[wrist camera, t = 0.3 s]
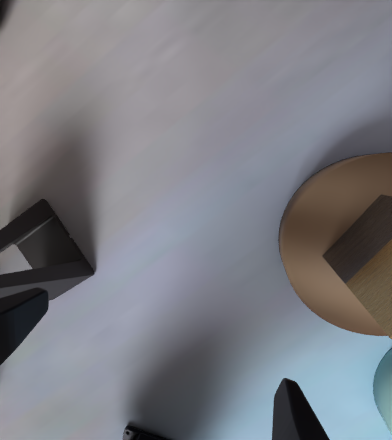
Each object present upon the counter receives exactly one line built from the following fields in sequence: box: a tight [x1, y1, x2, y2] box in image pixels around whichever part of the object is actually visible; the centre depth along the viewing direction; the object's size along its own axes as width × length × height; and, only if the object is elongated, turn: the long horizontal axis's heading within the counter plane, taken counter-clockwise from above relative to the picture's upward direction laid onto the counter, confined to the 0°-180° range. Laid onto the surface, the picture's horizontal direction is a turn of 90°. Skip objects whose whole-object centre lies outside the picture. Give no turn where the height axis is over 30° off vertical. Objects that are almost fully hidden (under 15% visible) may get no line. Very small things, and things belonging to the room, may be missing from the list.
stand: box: [279, 152, 392, 336], centre depth 19 cm, size 13×13×3 cm
